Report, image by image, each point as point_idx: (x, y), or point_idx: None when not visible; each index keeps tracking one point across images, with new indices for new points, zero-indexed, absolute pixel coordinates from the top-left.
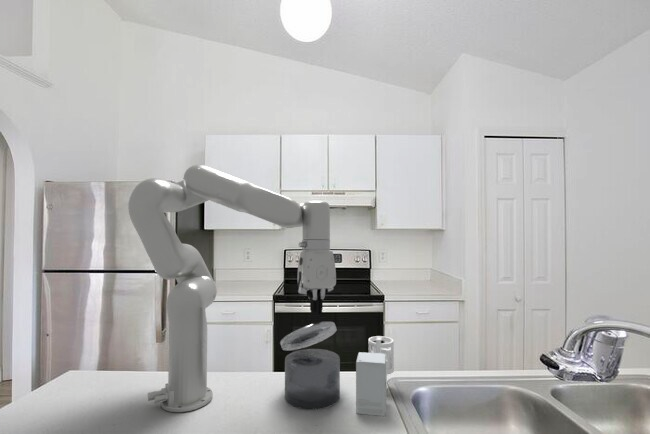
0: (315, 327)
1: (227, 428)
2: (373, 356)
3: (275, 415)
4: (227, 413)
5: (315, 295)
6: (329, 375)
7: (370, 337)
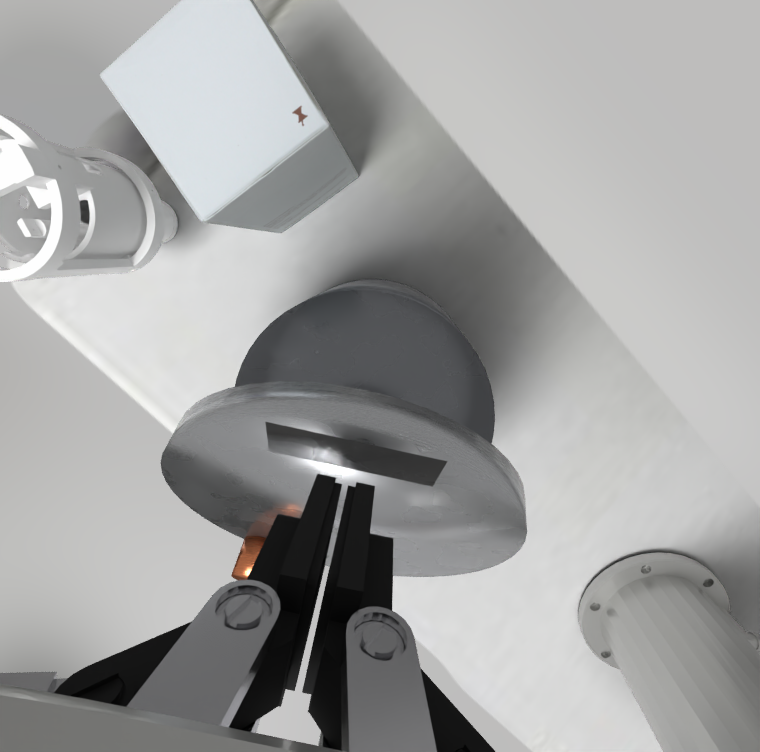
0: (422, 417)
1: (679, 411)
2: (195, 93)
3: (543, 366)
4: (624, 476)
5: (373, 672)
6: (381, 288)
7: (5, 280)
